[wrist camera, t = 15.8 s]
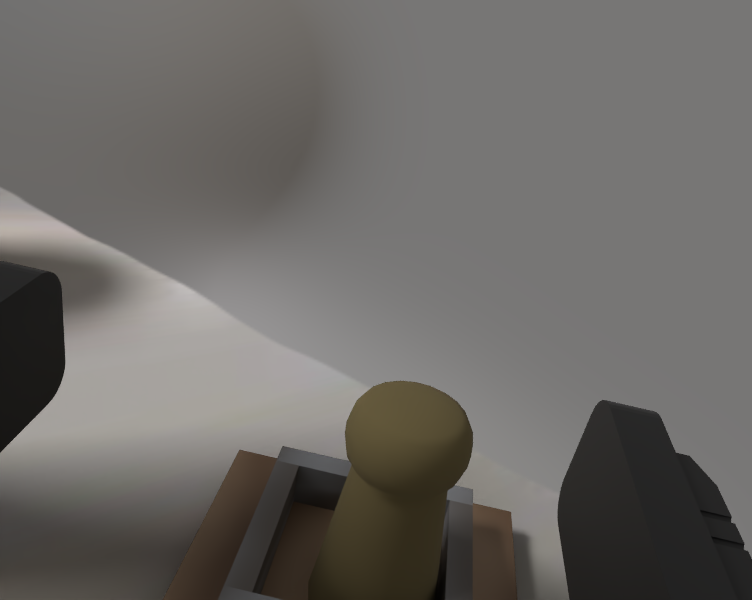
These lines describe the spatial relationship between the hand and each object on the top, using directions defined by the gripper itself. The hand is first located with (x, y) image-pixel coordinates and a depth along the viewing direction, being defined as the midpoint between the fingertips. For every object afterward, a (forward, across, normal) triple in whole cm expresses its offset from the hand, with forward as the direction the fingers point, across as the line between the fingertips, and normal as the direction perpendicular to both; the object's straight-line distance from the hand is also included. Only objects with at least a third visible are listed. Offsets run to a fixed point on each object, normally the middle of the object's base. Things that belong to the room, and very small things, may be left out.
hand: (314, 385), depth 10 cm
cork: (+13, -3, +21) cm, 25 cm away
